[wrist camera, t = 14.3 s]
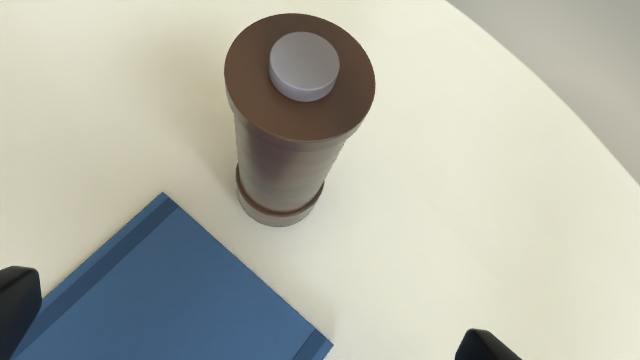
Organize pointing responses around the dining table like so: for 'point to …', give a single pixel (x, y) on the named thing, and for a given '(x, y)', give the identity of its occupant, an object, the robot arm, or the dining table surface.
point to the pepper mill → (293, 110)
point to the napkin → (167, 302)
